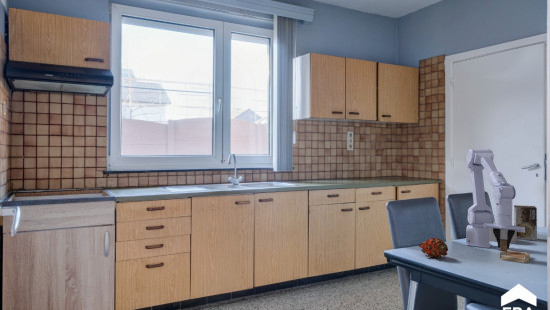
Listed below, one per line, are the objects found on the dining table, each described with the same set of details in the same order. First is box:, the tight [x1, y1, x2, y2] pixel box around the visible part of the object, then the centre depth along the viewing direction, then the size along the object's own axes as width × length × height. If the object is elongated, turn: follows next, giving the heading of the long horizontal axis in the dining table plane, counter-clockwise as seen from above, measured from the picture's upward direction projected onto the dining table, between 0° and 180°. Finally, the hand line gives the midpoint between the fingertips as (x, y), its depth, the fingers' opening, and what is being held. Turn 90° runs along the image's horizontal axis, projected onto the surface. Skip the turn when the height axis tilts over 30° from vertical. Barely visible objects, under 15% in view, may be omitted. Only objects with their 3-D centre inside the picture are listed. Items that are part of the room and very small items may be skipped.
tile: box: [506, 254, 525, 258], centre depth 158 cm, size 6×6×1 cm
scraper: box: [499, 239, 508, 259], centre depth 160 cm, size 2×6×7 cm, turn 145°
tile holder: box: [500, 249, 530, 264], centre depth 158 cm, size 9×11×2 cm
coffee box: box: [513, 204, 538, 241], centre depth 194 cm, size 9×6×16 cm
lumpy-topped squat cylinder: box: [489, 221, 518, 244], centre depth 190 cm, size 10×13×9 cm
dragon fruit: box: [418, 237, 449, 259], centre depth 160 cm, size 8×8×12 cm
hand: (503, 247), depth 160 cm, fingers closed on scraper, 2 cm apart
